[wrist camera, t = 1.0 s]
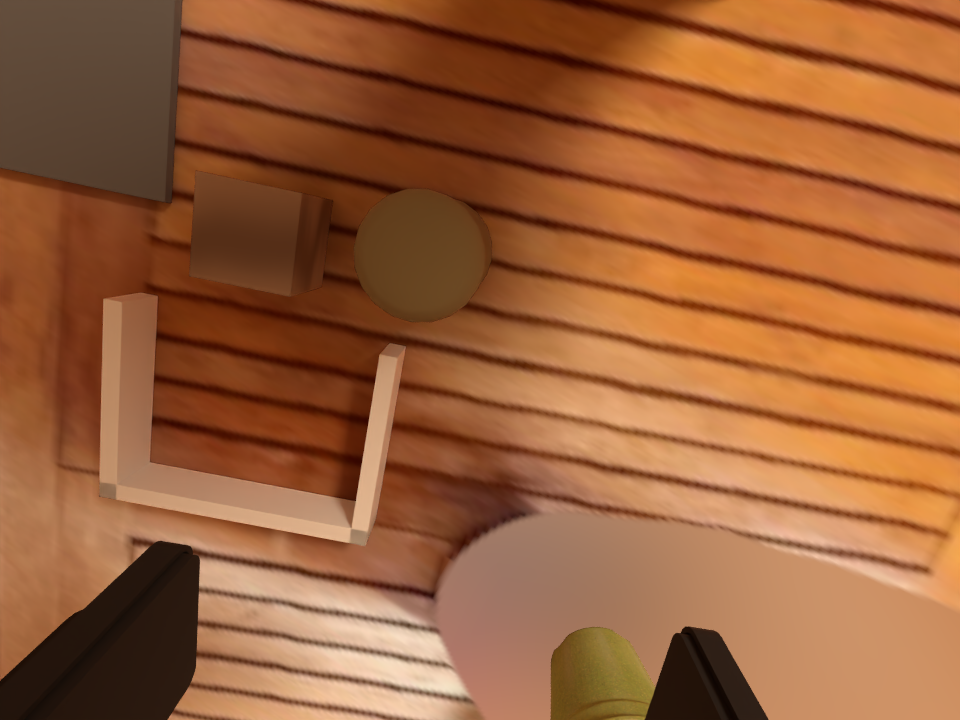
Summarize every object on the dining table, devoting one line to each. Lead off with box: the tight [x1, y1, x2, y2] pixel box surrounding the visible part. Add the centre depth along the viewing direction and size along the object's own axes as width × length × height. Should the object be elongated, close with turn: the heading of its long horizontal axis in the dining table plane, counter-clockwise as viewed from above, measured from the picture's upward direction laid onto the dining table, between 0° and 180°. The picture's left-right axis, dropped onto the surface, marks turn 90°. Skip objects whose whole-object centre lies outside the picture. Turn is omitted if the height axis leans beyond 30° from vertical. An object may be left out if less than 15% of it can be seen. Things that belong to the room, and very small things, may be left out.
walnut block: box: [189, 171, 333, 297], centre depth 26 cm, size 5×5×5 cm
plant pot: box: [551, 627, 655, 720], centre depth 31 cm, size 9×9×9 cm
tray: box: [99, 293, 406, 546], centre depth 30 cm, size 12×16×3 cm
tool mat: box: [0, 0, 182, 203], centre depth 26 cm, size 11×11×1 cm
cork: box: [354, 189, 492, 322], centre depth 23 cm, size 6×6×11 cm
